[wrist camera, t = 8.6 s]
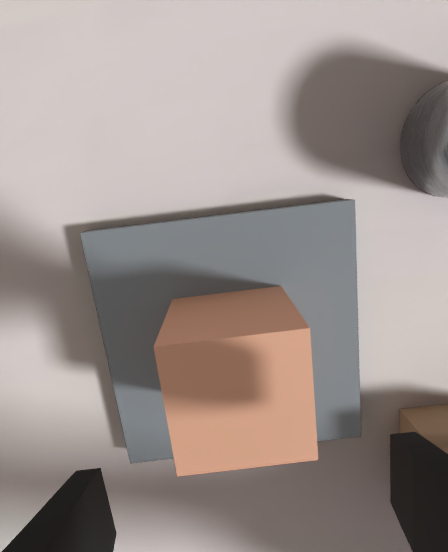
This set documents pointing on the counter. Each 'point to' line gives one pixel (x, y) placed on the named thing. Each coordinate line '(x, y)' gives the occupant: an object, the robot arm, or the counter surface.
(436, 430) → the walnut block
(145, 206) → the counter surface
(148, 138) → the counter surface
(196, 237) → the mat
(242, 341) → the terracotta block
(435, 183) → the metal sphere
